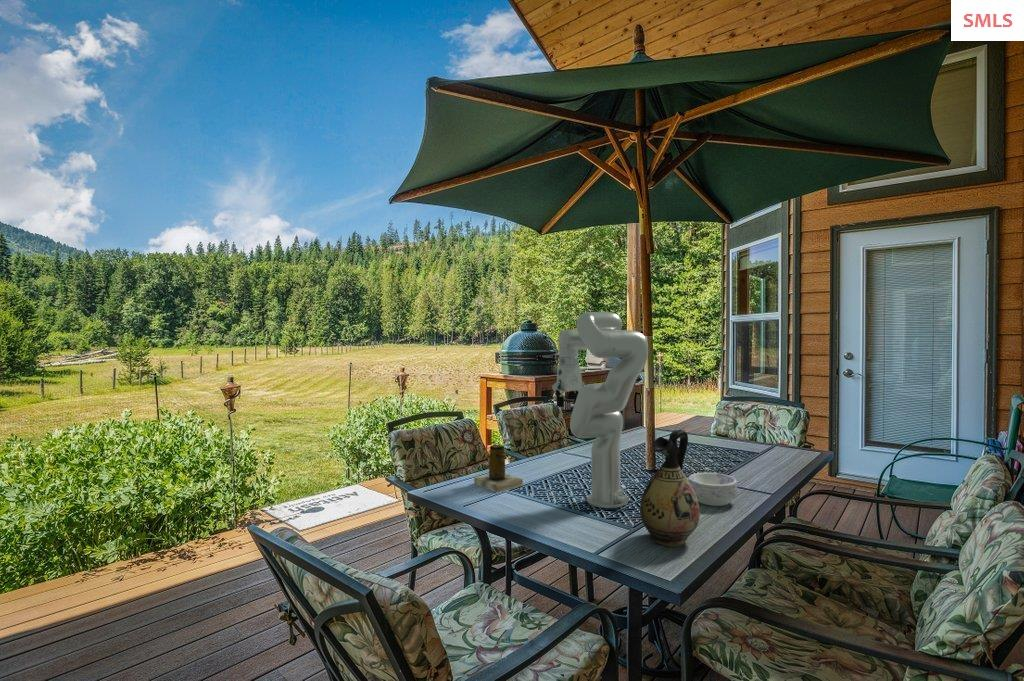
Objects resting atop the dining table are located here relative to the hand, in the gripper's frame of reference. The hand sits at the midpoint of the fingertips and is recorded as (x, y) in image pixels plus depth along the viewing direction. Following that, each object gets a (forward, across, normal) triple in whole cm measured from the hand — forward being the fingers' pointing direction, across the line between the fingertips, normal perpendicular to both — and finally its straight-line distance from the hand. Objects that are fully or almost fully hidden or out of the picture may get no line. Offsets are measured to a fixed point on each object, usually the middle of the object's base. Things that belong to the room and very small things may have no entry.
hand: (569, 405), depth 195 cm
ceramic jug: (+28, -22, -59) cm, 69 cm away
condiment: (+26, -27, +11) cm, 39 cm away
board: (+28, -27, +11) cm, 41 cm away
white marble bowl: (+29, +15, -51) cm, 60 cm away
